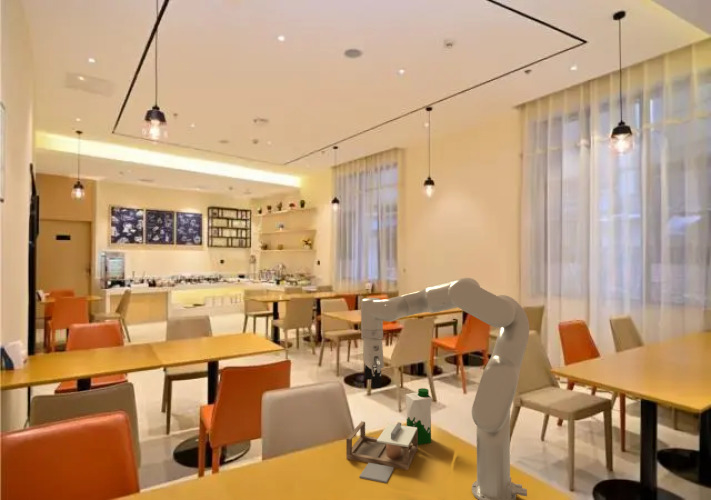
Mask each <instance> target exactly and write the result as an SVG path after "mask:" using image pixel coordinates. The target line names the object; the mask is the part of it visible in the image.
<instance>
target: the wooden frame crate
mask: <svg viewBox="0 0 711 500" xmlns="http://www.w3.org/2000/svg"><path fill="white" fill-rule="evenodd" d="M359 432H360V437H359V438H358V439H357V441H356V442H355V443H354V444H353V438H354V437H355V436H356V434H357V433H359ZM378 438H379V437H375V436H367V435H366V421H362V420H361V421H360V422H359V424H358V425H357V426H355V428H354V430H353V431H351V433H350V434H349V435H348V436H347V437H346V438H345V439H346V442H345V443H346V445H345V446H346V459H347V460H351V461H358V462H364V463H367V464H368V463H374V464H379V465H384V466H390V467H394V469H395V468H396V469H401V470H407V471H408V470H409V469H410V466H411V464H412V462H413V460H414V457H415V455H416V452H417V451H418V446H419V445H418V429H417V431H416V433H415V435H414V437H413V439H412V441H413V443H412V441H411V442H410V444H409V446H408V447H404V446H401V457H400V458H397V459H392V458H389V457H387V455H386V443H379V442H377V439H378Z"/></svg>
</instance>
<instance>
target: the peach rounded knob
mask: <svg viewBox="0 0 711 500" xmlns="http://www.w3.org/2000/svg"><path fill="white" fill-rule="evenodd" d="M386 455H387V457H389V458H392V459H397V458H400V457H401V446H398V445H392V444H386Z"/></svg>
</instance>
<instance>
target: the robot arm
mask: <svg viewBox="0 0 711 500" xmlns="http://www.w3.org/2000/svg"><path fill="white" fill-rule="evenodd" d="M452 309H460V310H461V311H464V312H465V313H467V314H469V315H471V316H473V317H475V318H476V319H478V320H480V321H481V322H483V323H485V324H487V325H489V326H492V327H494V328H498V334H497V337H496V339H495V344H494V348H493V351H492V353H491V356H490V359H489V360H488V362H487V363H486V366H485V368H484V369H483V372H482V373H481V377H480V380H479V383H478V387H477V390H476V393H475V397H474V400H473V403H472V407H471V418H472V420H473V422H474V424H475V425H476V480H475V481H474V482H473V483H472V484H471V492H472V494H473V496H474V497H475V498H476V499H477V500H516V499H517V495H520V496H523V497H528V491H527V490H528V489H527V488H524V487H523V485H522V484H520V483H514V482H513V481H512V477H511V453H510V452H511V451H510V450H511V447H510V446H511V443H510V442H511V439H510V438H511V436H510V435H511V431H510V430H511V425H510V424H511V408H512V404H513V402H514V398H515V396H516V395H515V394H516V392H517V388H518V384H519V381H520V373H521V372H520V371H521V367H522V364H523V360H524V356H525V353H526V349H527V347H528V343H529V336H530V323H529V318H528V315H527V313H526V311H525V309H524V308H523V307H522V305H521V304H520V303H519V302H518V301H516V299H514V298H512V297H510V296H508V295H506V294H504V295H503V294H499V295H496V294H494V293H492V292H490V291H488V290H487V289H484V288H483V287H481V285H480V284H479V282H478V281H477V280H475V279H474V278H471V277H463V278H462V277H461V278H459V279H455V280H454V279H453V280H451V281H448V282H447V281H446V282H443V283H439V284H435V285H431V286H426V287H424V288H423V289H422V290H421V289H420V290H419V291H414V292H411V293H407V294H401V295H398V296H394V297H389V298H387V299H381V298H379V297H366V298H363V299H361V302H360V317H361V319H360V324H361V325H360V330H361V333H360V334H361V339H362V340H363V354H362V355H363V363H364V371H363V372H364V380H367V381H368V380H371V388H372V389H381V388H382V370H381V369H383V368H384V366H385V365H384V348H383V338H384V322H390V323H391V322H394V321H397V320H399V319H401V318H405V317H409V316H414V315H419V314H424V313H429V314H430V313H431V314H434V313H439V312H443V311H444V312H445V311H448V310H452Z"/></svg>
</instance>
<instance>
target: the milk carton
mask: <svg viewBox="0 0 711 500" xmlns="http://www.w3.org/2000/svg"><path fill="white" fill-rule="evenodd" d="M417 391H418V392H411V393H405V403H406V426H410V427H417V429H418V446H419V445H425V444H426V445H427V444H432V410H431V409H432V404H433V403H432V401H433V398H432V396H430V394H429V389H428V388H425V387H424V388H423V387H421V388H418V390H417ZM412 443H413V441H412Z"/></svg>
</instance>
